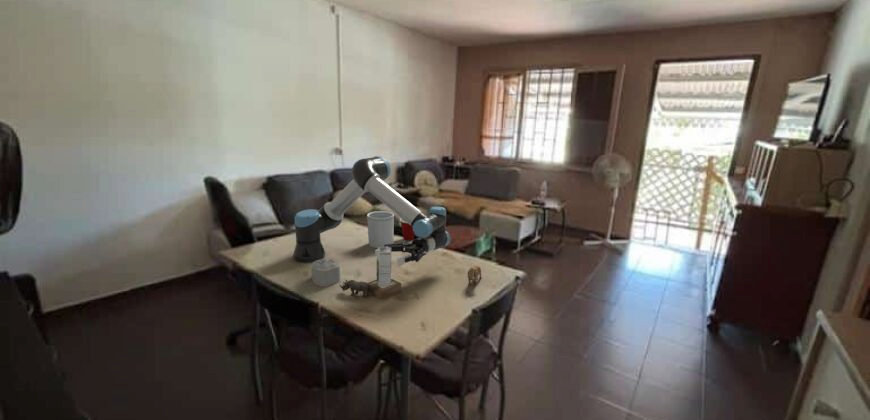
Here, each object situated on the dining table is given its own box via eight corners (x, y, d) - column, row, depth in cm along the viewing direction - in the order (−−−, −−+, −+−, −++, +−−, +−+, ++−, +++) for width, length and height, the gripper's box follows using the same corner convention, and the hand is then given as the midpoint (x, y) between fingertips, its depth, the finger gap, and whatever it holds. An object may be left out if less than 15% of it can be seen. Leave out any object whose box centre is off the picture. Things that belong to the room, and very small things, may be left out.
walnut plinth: (366, 291, 157) (366, 282, 156) (385, 284, 164) (385, 275, 163) (382, 299, 150) (382, 290, 149) (401, 291, 158) (401, 282, 157)
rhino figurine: (342, 289, 159) (342, 275, 157) (372, 294, 155) (372, 280, 153) (337, 293, 155) (336, 279, 153) (367, 299, 151) (367, 285, 149)
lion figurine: (478, 290, 160) (479, 270, 158) (465, 288, 162) (466, 268, 160) (482, 276, 174) (483, 258, 172) (470, 275, 176) (471, 256, 173)
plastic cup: (415, 242, 219) (415, 222, 216) (397, 241, 221) (397, 221, 218) (420, 237, 229) (420, 217, 226) (402, 235, 231) (402, 216, 228)
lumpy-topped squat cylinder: (321, 287, 160) (320, 268, 158) (306, 278, 169) (305, 259, 166) (343, 280, 167) (342, 262, 165) (328, 272, 176) (327, 254, 174)
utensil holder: (392, 249, 207) (392, 218, 203) (365, 248, 207) (364, 217, 203) (395, 240, 222) (395, 211, 217) (370, 240, 222) (369, 210, 217)
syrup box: (377, 279, 159) (376, 246, 155) (391, 279, 159) (391, 246, 156) (376, 285, 153) (375, 251, 150) (391, 285, 154) (391, 251, 150)
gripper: (443, 260, 163) (408, 274, 147) (403, 246, 179) (367, 258, 163) (444, 243, 161) (408, 256, 145) (403, 231, 177) (366, 241, 162)
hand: (386, 257), depth 154 cm, fingers open, 13 cm apart
